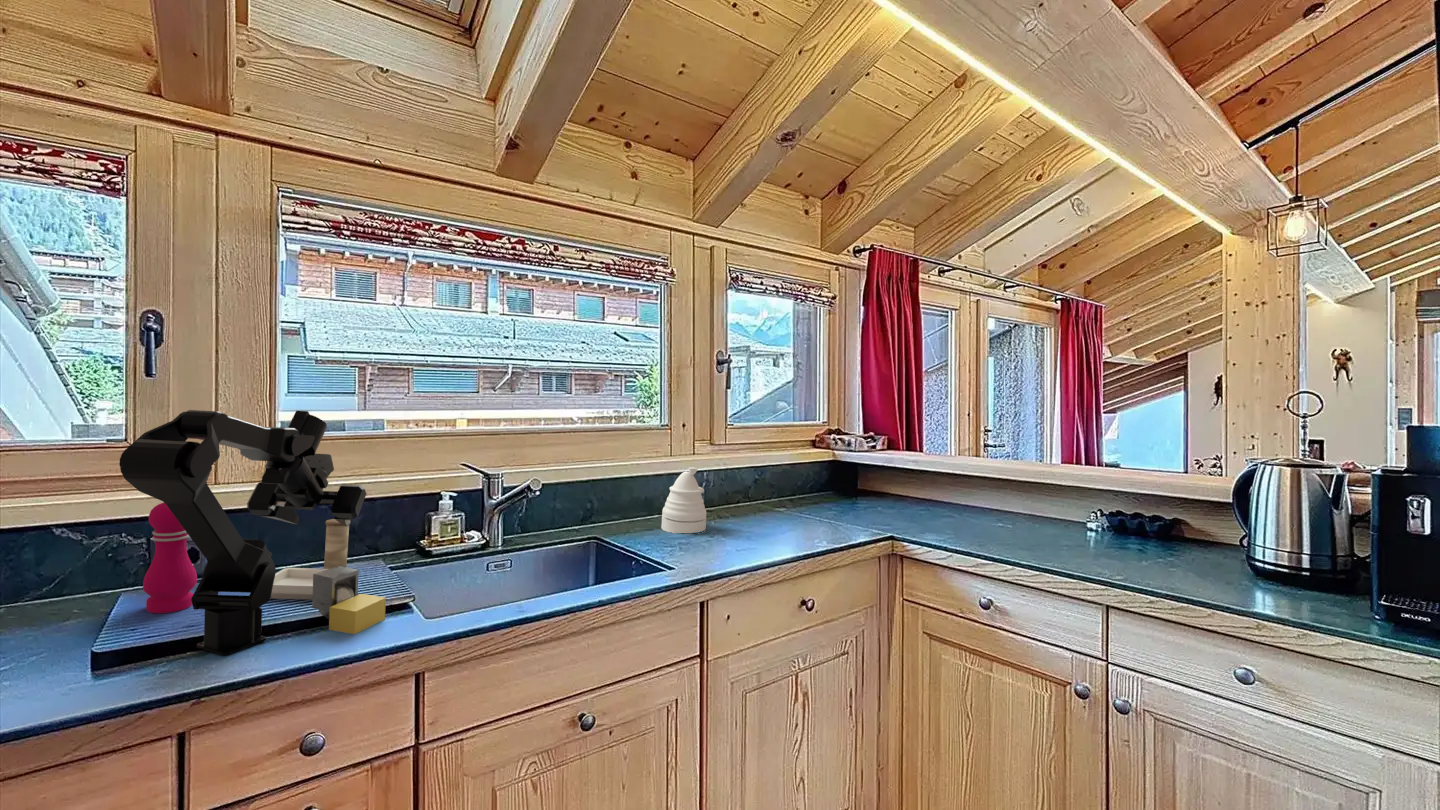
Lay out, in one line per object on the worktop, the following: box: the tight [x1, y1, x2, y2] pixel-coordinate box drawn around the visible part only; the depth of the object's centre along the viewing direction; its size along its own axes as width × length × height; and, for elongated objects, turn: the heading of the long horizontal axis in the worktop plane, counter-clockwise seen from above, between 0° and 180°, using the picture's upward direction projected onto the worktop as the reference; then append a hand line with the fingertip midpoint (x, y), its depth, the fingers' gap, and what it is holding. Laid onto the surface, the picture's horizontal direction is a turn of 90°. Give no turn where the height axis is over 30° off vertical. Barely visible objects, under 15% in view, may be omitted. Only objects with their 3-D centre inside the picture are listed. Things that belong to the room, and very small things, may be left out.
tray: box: [270, 567, 328, 600], centre depth 127 cm, size 10×12×2 cm
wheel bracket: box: [311, 566, 360, 620], centre depth 116 cm, size 5×6×8 cm
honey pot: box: [661, 466, 707, 534], centre depth 193 cm, size 13×13×18 cm
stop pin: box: [323, 518, 351, 569], centre depth 136 cm, size 4×4×11 cm
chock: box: [328, 593, 387, 635], centre depth 113 cm, size 7×5×4 cm
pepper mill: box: [142, 502, 198, 614], centre depth 115 cm, size 7×7×20 cm
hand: (322, 523), depth 130 cm, fingers open, 9 cm apart
